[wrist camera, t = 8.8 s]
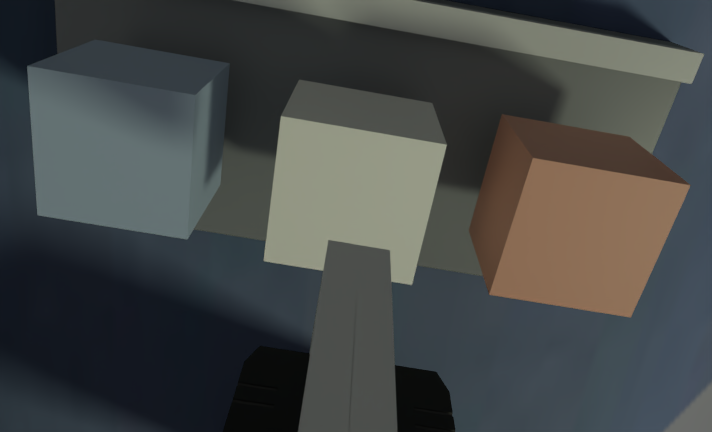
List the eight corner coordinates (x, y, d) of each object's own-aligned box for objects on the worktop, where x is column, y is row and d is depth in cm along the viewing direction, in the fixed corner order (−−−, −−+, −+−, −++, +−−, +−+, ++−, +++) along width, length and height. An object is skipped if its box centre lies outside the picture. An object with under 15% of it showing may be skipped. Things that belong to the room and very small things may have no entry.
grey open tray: (83, 191, 30) (19, 248, 24) (74, -69, 25) (-9, -69, 19) (581, 273, 31) (625, 344, 26) (672, 42, 26) (750, 71, 21)
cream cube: (283, 201, 25) (263, 261, 20) (299, 79, 23) (280, 115, 18) (405, 221, 25) (411, 285, 21) (432, 102, 23) (446, 144, 18)
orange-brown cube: (468, 230, 25) (489, 294, 21) (501, 114, 23) (533, 157, 19) (585, 249, 26) (630, 317, 21) (629, 136, 23) (690, 185, 19)
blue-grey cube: (97, 164, 25) (37, 215, 21) (95, 39, 23) (27, 65, 18) (220, 184, 25) (187, 239, 21) (229, 63, 23) (194, 95, 19)
